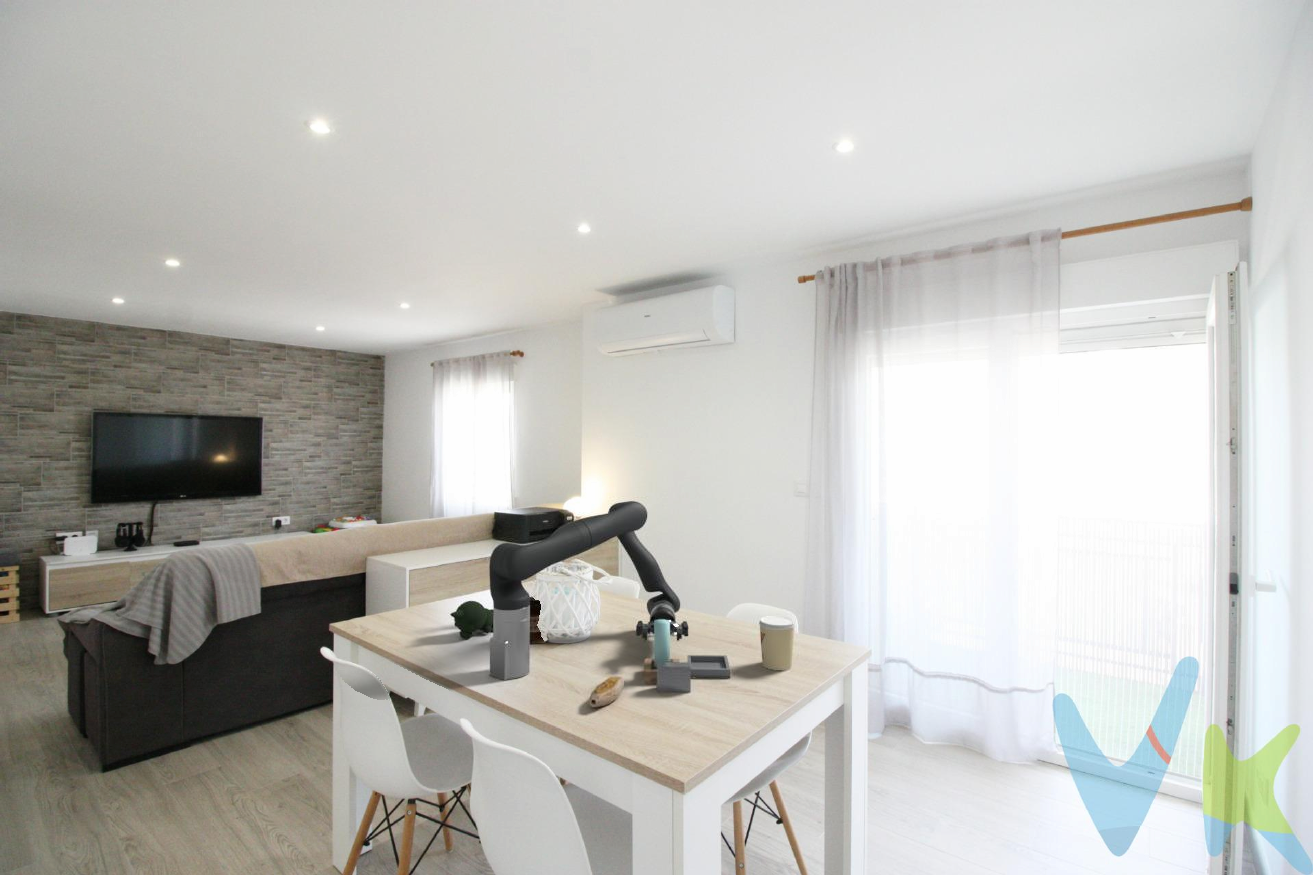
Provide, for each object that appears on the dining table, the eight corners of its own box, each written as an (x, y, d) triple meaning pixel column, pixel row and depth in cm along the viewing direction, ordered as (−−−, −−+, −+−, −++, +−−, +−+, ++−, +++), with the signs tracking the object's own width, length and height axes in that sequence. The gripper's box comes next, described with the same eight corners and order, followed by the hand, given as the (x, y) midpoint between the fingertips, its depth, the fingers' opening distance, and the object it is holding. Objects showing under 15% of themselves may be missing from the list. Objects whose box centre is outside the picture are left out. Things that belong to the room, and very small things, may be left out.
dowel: (663, 681, 150) (663, 624, 150) (651, 677, 152) (651, 622, 153) (672, 676, 153) (672, 621, 153) (660, 672, 156) (660, 618, 156)
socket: (679, 683, 148) (679, 671, 148) (643, 683, 148) (643, 671, 148) (679, 670, 157) (679, 658, 157) (645, 670, 157) (645, 658, 157)
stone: (581, 710, 133) (581, 690, 133) (612, 687, 146) (612, 669, 146) (601, 714, 131) (602, 694, 131) (631, 691, 144) (631, 673, 144)
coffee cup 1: (545, 646, 176) (545, 602, 177) (519, 644, 178) (519, 600, 178) (556, 637, 185) (556, 595, 185) (531, 635, 187) (531, 593, 187)
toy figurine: (498, 627, 201) (437, 640, 180) (502, 569, 203) (442, 576, 182) (519, 631, 197) (459, 645, 175) (523, 572, 199) (464, 579, 177)
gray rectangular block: (690, 692, 143) (690, 666, 143) (657, 691, 143) (657, 666, 143) (690, 687, 146) (690, 662, 146) (657, 686, 146) (657, 661, 146)
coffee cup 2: (764, 657, 167) (764, 614, 167) (798, 662, 163) (798, 618, 163) (755, 668, 159) (754, 622, 159) (790, 674, 155) (790, 627, 155)
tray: (730, 677, 152) (730, 669, 152) (688, 677, 152) (688, 669, 152) (726, 663, 163) (726, 655, 163) (687, 662, 163) (687, 654, 163)
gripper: (638, 606, 175) (635, 622, 159) (687, 606, 175) (689, 622, 158) (638, 632, 175) (635, 650, 158) (687, 632, 174) (688, 651, 158)
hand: (662, 636), depth 158 cm, fingers open, 8 cm apart
